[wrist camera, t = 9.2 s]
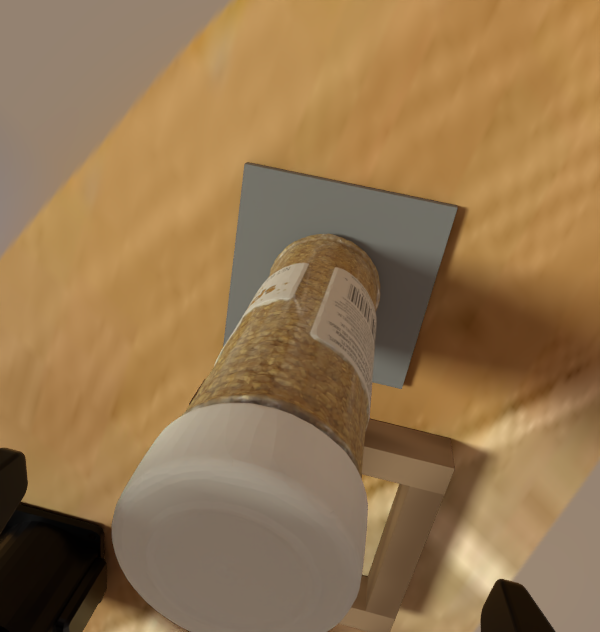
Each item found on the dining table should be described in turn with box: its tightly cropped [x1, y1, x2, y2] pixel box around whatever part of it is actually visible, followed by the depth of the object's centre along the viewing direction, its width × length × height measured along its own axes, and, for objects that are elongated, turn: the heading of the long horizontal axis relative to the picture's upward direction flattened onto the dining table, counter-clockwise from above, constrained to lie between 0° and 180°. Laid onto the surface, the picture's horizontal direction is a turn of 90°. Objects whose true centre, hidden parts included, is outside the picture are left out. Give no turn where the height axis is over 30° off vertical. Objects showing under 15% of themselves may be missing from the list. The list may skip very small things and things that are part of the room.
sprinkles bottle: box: [112, 234, 380, 632], centre depth 15 cm, size 5×5×13 cm
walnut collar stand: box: [189, 379, 455, 632], centre depth 25 cm, size 12×12×2 cm
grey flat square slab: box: [223, 162, 457, 389], centre depth 21 cm, size 8×8×1 cm
